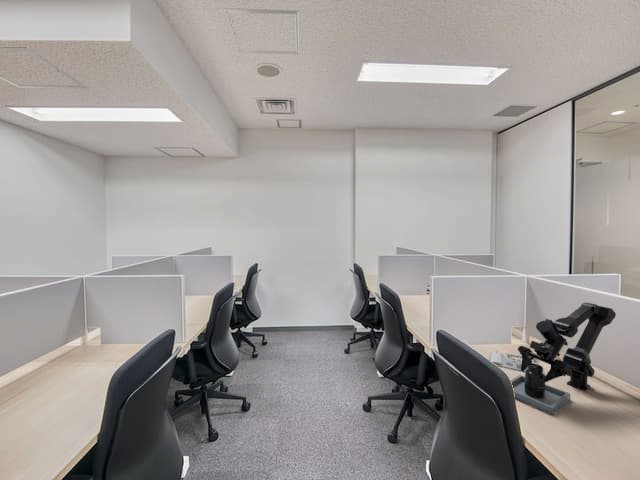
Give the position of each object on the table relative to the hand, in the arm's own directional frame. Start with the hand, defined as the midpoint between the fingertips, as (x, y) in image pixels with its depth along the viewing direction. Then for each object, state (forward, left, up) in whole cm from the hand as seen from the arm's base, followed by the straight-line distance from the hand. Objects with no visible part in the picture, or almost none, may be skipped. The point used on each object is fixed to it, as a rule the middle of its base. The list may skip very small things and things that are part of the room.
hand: (532, 376), depth 118 cm
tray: (-1, 0, -9) cm, 9 cm away
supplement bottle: (-1, 0, -8) cm, 8 cm away
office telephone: (-28, -19, -9) cm, 35 cm away
